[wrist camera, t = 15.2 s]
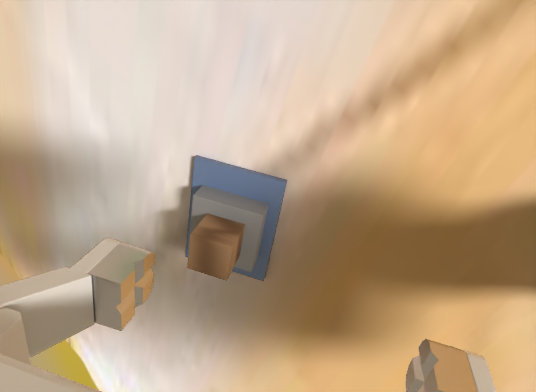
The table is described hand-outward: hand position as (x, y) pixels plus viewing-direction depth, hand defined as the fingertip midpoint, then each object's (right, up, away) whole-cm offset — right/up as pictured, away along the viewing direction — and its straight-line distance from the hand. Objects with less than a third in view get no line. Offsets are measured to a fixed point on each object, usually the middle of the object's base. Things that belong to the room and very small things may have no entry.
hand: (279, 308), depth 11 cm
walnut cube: (-6, -2, +36) cm, 37 cm away
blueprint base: (-5, 0, +40) cm, 40 cm away
